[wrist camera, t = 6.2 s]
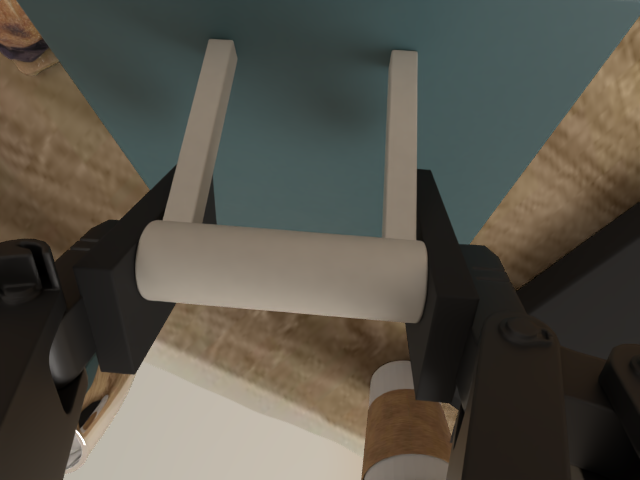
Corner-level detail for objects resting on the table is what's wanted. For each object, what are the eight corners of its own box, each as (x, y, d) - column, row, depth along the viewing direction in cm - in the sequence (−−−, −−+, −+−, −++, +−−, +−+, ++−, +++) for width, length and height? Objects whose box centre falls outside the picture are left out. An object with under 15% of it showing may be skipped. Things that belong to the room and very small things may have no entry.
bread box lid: (0, -58, 11) (-169, 240, 8) (647, -26, 11) (745, 316, 7) (190, 232, 27) (159, 371, 24) (453, 253, 26) (457, 399, 23)
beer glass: (102, 249, 38) (-34, 386, 25) (183, 271, 38) (92, 418, 25) (99, 311, 41) (-23, 461, 28) (174, 332, 42) (88, 488, 29)
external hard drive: (420, 360, 41) (424, 385, 38) (664, 180, 31) (692, 198, 29) (522, 435, 45) (532, 463, 42) (768, 295, 35) (801, 320, 33)
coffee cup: (427, 337, 40) (460, 509, 27) (460, 400, 43) (504, 579, 30) (341, 365, 42) (333, 536, 29) (379, 423, 46) (387, 598, 32)
